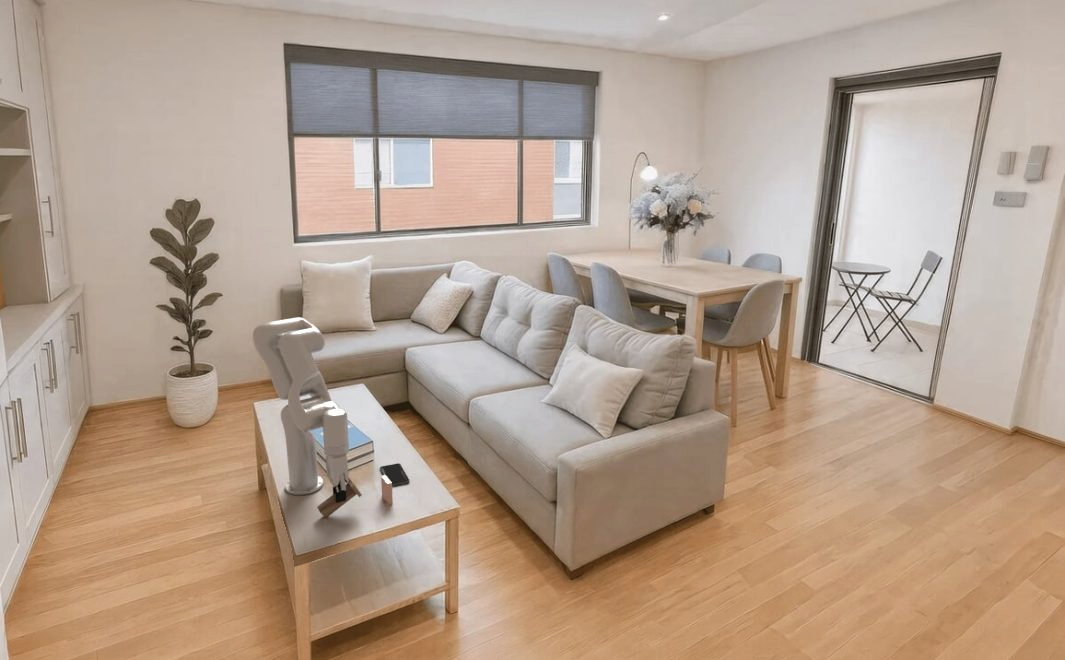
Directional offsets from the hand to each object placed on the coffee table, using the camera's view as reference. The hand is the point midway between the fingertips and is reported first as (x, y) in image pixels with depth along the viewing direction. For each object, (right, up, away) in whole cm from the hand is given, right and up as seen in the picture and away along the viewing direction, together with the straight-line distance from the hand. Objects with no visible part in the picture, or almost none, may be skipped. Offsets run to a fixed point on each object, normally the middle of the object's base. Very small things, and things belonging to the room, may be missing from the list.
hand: (339, 498), depth 203 cm
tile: (+13, -3, +10) cm, 17 cm away
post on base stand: (0, -2, +1) cm, 2 cm away
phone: (+12, +1, +26) cm, 29 cm away
